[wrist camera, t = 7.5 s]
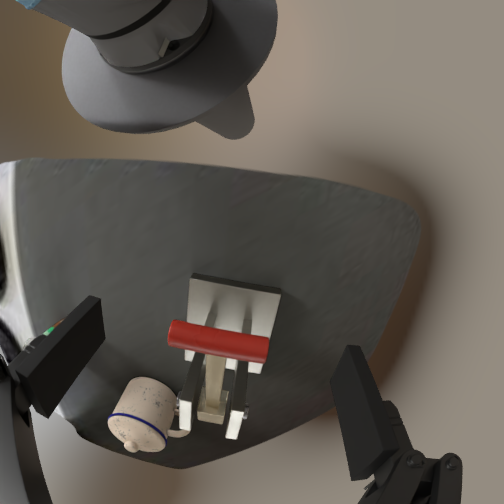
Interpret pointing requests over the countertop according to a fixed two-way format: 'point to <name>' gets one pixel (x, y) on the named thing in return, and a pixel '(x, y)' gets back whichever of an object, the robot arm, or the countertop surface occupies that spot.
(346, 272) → the countertop surface
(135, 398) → the teacup with lid
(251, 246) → the countertop surface
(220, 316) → the bracket
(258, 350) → the lever
